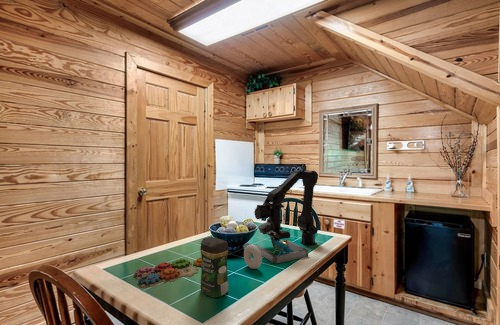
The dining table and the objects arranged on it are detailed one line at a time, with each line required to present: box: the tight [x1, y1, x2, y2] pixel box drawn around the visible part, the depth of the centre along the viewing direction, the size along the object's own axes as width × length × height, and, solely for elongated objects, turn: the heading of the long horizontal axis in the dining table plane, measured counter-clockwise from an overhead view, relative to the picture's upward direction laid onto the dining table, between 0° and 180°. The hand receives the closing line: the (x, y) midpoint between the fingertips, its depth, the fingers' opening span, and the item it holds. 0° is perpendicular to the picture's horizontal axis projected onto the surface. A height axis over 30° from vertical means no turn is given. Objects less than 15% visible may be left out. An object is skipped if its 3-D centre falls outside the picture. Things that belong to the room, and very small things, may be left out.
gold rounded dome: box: [279, 238, 292, 245], centre depth 139 cm, size 6×6×3 cm
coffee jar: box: [200, 235, 229, 299], centre depth 91 cm, size 10×8×19 cm
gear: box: [272, 240, 294, 255], centre depth 124 cm, size 11×6×10 cm
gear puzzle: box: [133, 257, 202, 288], centre depth 108 cm, size 31×16×4 cm, turn 124°
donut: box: [243, 243, 263, 270], centre depth 110 cm, size 10×4×10 cm, turn 40°
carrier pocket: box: [257, 240, 309, 265], centre depth 126 cm, size 19×16×3 cm
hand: (274, 247), depth 132 cm, fingers closed
